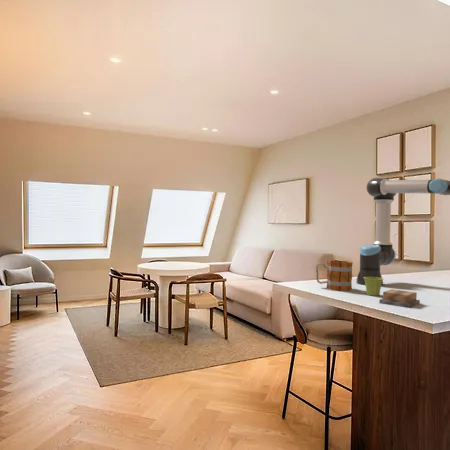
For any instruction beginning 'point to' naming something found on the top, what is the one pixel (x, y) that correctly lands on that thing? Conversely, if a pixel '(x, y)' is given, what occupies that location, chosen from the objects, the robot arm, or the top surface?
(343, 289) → the mug
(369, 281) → the plant pot
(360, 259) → the robot arm
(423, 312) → the top surface
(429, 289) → the top surface
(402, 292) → the plinth
